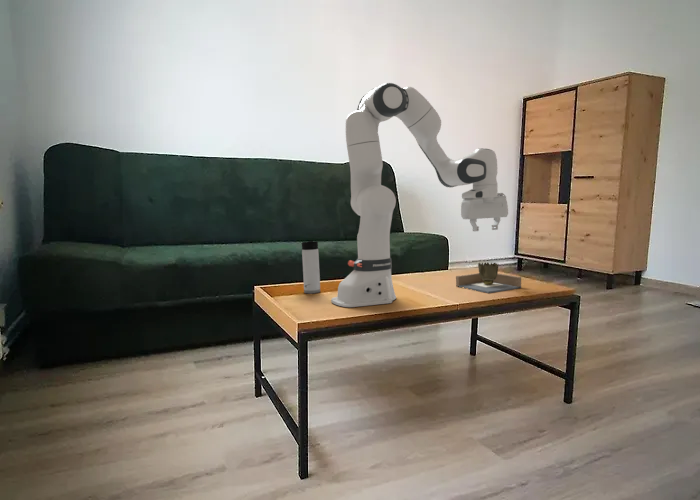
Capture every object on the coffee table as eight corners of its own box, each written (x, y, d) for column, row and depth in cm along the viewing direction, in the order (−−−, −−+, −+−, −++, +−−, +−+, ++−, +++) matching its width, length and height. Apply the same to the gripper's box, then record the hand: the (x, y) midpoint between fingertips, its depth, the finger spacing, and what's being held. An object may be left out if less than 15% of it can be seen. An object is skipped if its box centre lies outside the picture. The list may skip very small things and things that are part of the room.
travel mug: (305, 294, 172) (302, 241, 170) (303, 291, 179) (300, 240, 177) (321, 293, 173) (319, 240, 171) (319, 290, 180) (316, 239, 178)
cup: (500, 285, 169) (500, 264, 168) (480, 286, 169) (480, 264, 169) (496, 282, 176) (496, 261, 175) (476, 282, 177) (476, 262, 176)
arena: (488, 293, 160) (488, 282, 160) (456, 286, 175) (456, 276, 175) (521, 287, 167) (521, 277, 167) (487, 281, 182) (487, 271, 182)
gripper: (499, 193, 177) (499, 228, 178) (458, 194, 168) (458, 231, 169) (512, 192, 171) (512, 229, 173) (469, 193, 162) (470, 232, 164)
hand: (485, 230), depth 171 cm, fingers open, 8 cm apart
